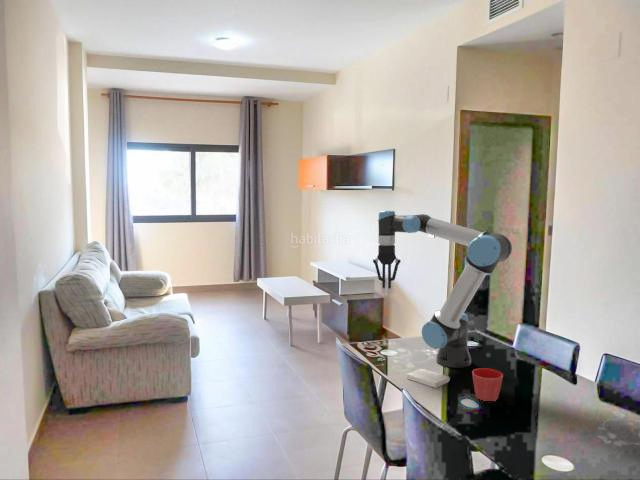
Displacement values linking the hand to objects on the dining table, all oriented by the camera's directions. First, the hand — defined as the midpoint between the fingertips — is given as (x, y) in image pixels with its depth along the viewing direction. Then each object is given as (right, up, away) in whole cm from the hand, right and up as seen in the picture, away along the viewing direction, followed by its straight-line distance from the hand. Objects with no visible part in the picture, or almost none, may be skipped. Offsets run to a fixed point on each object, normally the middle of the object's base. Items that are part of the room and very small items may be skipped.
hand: (386, 295), depth 235 cm
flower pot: (+31, -34, -46) cm, 65 cm away
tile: (+9, -30, -22) cm, 39 cm away
